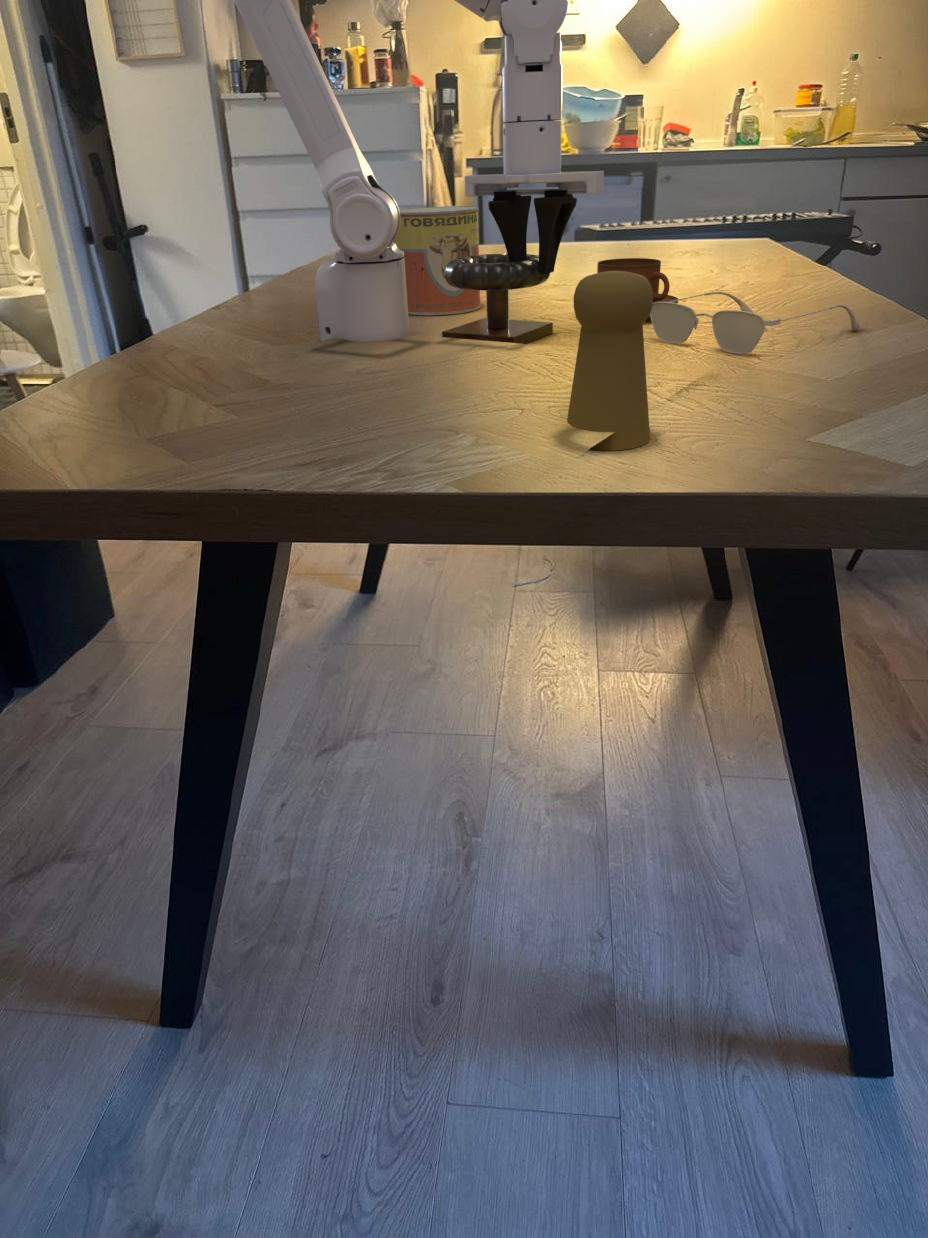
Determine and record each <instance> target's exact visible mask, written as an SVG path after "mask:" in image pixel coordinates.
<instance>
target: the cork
mask: <svg viewBox="0 0 928 1238" xmlns="http://www.w3.org/2000/svg"><path fill="white" fill-rule="evenodd" d="M652 306H653V292H652V287H651V285H650V283H649V281H648V279H647V278H645V277H644V276H642V275H639V274H635V273H631V272H625V271H606V272H600V273H597V272H596V273H593V274H588V275H586V276H585V277H583V278H582V279H580V280H579V282H578V283H577V285H576V287H575V290H574V293H573V311H574V316H575V318H576V320H577V321H578V322H577V323H579V325H580V332H579V338H578V346H577V351H576V359H575V365H574V370H573V371H574V372H573V377H572V378H573V380H572V384H571V385H572V386H571V391H570V398H569V405H568V412H567V418H566V420H567V421H566V422H567V424H568V425H569V426H571V427H573V428H575V429H577V430H582V431H588V432H594V433H595V432H596V433H612V434H610V435H609V436H607V437H605V438H604V439H602V440H601V441H599V442H597V443H596V444H594V445H593V446H592V447H590V448H588V450H589V451H601V452H602V451H604V452H605V451H606V452H607V451H608V452H609V451H613V452H614V451H625V450H631V449H636V448H640V447H642V446H644V445H646V444H648V443H649V441H650V440H651V431H650V430H651V429H650V417H649V416H650V415H649V402H648V399H649V398H648V386H647V370H646V369H647V368H646V355H645V354H646V353H645V344H644V343H645V342H644V324H645V323H646V321H647V320H648V319H649V318H648V317H649V316H650V313H651V309H652Z"/></svg>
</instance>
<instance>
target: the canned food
mask: <svg viewBox="0 0 928 1238" xmlns="http://www.w3.org/2000/svg"><path fill="white" fill-rule="evenodd" d="M399 211H400V227H399V230H398V233H397V235H396V237H395V238H394V240H393V242H394V243H395V244H396V246H397V247H398V248H399V249H400V250H401V251H403V252H404V257H403V258H404V259H405V274H406V289H407V303H408V316H411V315H412V316H450V315H459V314H465V313H466V314H467V313H470V312H474V311H478V310H479V309H480V308H482V304H481V290H465V289H461V288H456V287H452V286H450V285H449V284H448V283H447V281H446V279H445V268H446V265H447V264H448V263H449V262H450V261H451V260H453V259H456V258H461V257H465V256H473V255H480V249H479V248H480V246H479V244H480V243H479V207H478V206H473V205H471V206H470V205H467V206H466V205H451V206H449V205H448V206H447V205H446V206H445V205H444V206H428V207H427V206H426V207H425V206H423V207H411V208H401V209H400V208H399Z"/></svg>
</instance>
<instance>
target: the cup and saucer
mask: <svg viewBox="0 0 928 1238" xmlns="http://www.w3.org/2000/svg"><path fill="white" fill-rule="evenodd" d="M661 266H662V262H661V260H660V259H656V258H646V257H645V258H644V257H625V258H624V257H623V258H612V259H611V258H610V259H604V260H600V261H597V268H596V269H597V270H596V271H597V272H596V273H600V272H606V271H625V272H631V273H635V274H639V275H642V276H644V277H645V278H647V279H648V281H649V283H650V285H651V287H652V292H653V303H655V302H669V301H673V300H678V299H679V298H678V297H677V296H674V295H670V294H669V292H670V281H669V278H668V276H667V275H666V274H665V273H663V272H661ZM660 280H661V281H662V284H663V291H662V292H661V293H659V291H660ZM672 303H677V304H679V300H678V301H674V302H672ZM647 319H651V318H650V316H649V317H648V318H647Z"/></svg>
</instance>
